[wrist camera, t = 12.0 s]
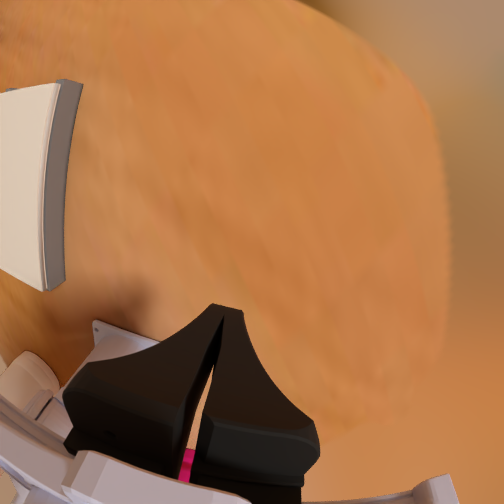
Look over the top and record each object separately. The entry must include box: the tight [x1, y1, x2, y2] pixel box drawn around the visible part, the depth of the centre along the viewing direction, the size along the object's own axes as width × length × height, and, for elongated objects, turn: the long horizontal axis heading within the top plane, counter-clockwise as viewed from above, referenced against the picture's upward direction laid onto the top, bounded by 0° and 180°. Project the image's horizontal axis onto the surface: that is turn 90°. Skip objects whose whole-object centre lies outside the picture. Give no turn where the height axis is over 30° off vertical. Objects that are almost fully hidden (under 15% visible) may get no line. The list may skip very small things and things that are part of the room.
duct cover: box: [0, 83, 61, 292], centre depth 16 cm, size 17×9×1 cm, turn 167°
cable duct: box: [6, 79, 83, 291], centre depth 18 cm, size 18×9×3 cm, turn 167°
